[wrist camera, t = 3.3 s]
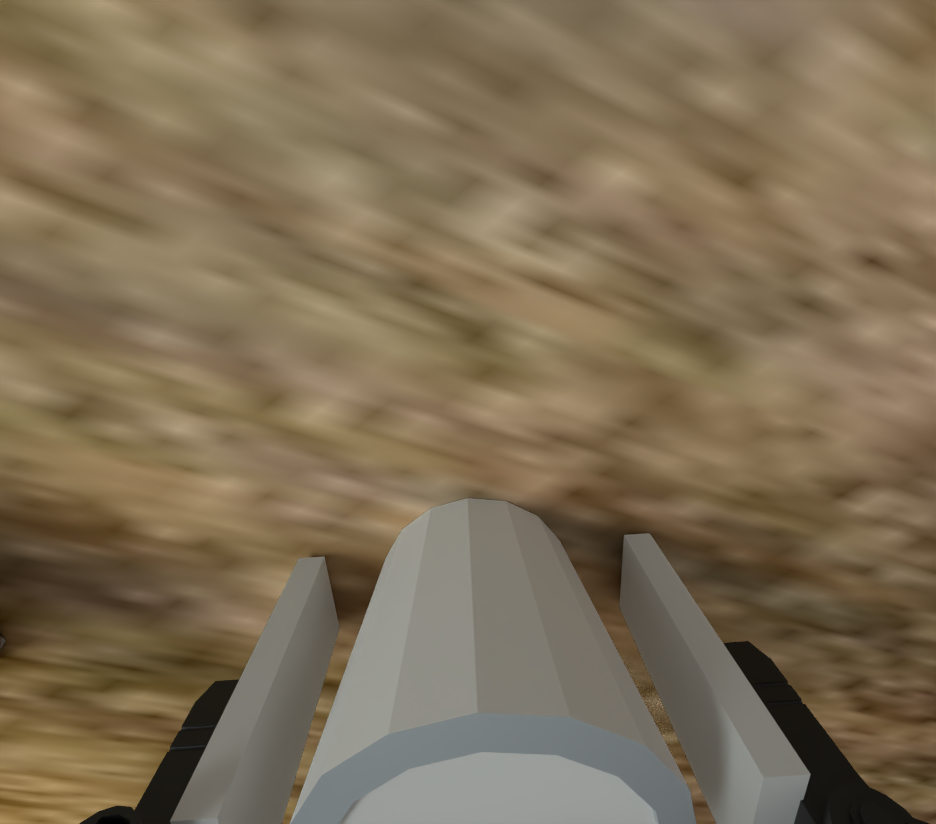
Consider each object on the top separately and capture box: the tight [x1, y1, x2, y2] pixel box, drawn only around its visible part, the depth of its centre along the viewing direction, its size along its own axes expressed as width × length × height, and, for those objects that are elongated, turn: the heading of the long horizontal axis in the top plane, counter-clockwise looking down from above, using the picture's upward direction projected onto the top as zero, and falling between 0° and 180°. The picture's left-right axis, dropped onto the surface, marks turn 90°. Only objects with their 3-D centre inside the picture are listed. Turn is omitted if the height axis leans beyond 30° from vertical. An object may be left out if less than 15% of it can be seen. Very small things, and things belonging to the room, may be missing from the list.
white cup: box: [290, 498, 696, 824], centre depth 11 cm, size 7×7×7 cm
